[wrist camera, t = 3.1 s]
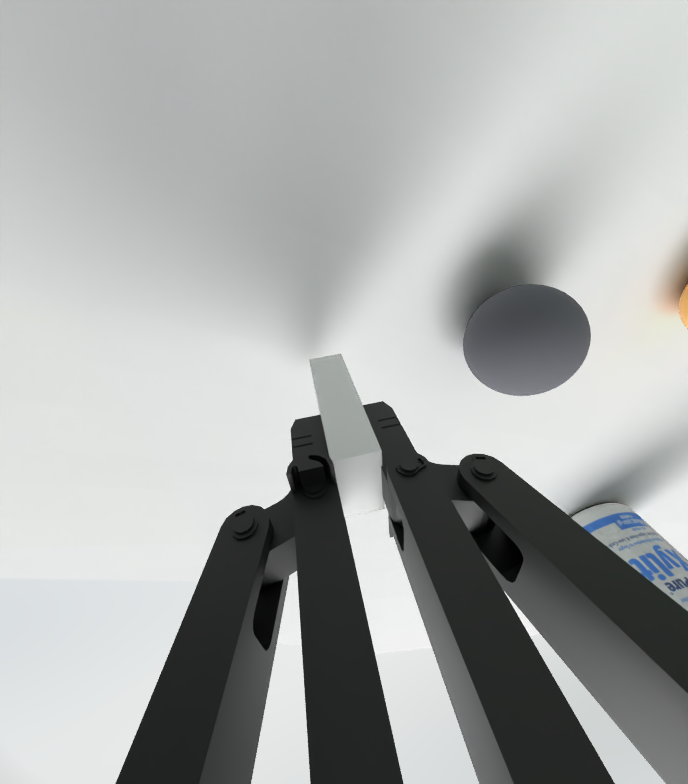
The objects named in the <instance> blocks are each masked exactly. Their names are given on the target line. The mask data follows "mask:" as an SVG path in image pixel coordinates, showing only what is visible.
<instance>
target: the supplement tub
mask: <svg viewBox="0 0 688 784" xmlns="http://www.w3.org/2000/svg"><path fill="white" fill-rule="evenodd" d="M571 518H572V519H573V520H574V521H576V522H577V523H578V524H579V525H581V526H582V527H583V528H584V529H586V530H587V531H588V532H589V533H591V534H592V535H593V536H594V537H596V538H597V539H598V540H599V541H601V542H602V543H603V544H604V545H606V546H607V547H608V548H609V549H611V550H612V551H613V552H614V553H616V554H617V555H618V556H619V557H621V558H622V559H623V560H624V561H626V562H627V563H628V564H629V565H631V566H632V567H633V568H634V569H636V570H637V571H638V572H639V573H641V574H642V575H643V576H644V577H646V578H647V579H648V580H649V581H651V582H652V583H653V584H654V585H656V586H657V587H658V588H659V589H661V590H662V591H663V592H664V593H666V594H667V595H668V596H669V597H671V598H672V599H673V600H674V601H676V602H677V603H678V604H679V605H681V606H682V607H683V608H684V609H686V610H687V611H688V560H687V559H686V558H685V557H684V556H683V555H681V554H680V553H679V552H678V551H677V550H676V549H675V548H674V547H673V546H672V545H670V544H669V543H668V542H667V541H666V540H665V539H664V538H663V537H662V536H661V535H659V534H658V533H657V532H656V531H655V530H654V529H653V528H652V527H651V526H650V525H649V524H647V523H646V522H645V521H644V520H643V519H642V518H641V517H640V516H639V515H637V514H636V513H635V512H634V511H633V510H632V509H631V508H629V507H627V506H625V505H623V504H619V503H605V504H600V505H596V506H593V507H590V508H587V509H585V510H583V511H581V512H579V513H577V514H575V515H574V516H572V517H571Z"/></svg>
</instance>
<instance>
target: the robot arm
mask: <svg viewBox="0 0 688 784" xmlns="http://www.w3.org/2000/svg"><path fill="white" fill-rule="evenodd" d="M309 361H310V366H311V371H312V377H313V382H314V387H315V393H316V398H317V403H318V408H319V413H320V415H317V416H312V417H307V418H302V419H297V420H295V422H294V424H293V426H292V428H291V439H292V455H293V461H292V462H291V463H290V465H289V466H288V469H287V474H286V475H287V478H288V481H289V484H290V488H291V490H290V492H289V493H288V495H287V496H286V497H285V498H283V499H282V500H281V501H279V502H278V503H276V504H274V505H272V506H270V507H268V508H266V509H263V508H262V507H260V506H255V505H250V506H245V507H242V508H240V509H238V510H236V511H234V512H233V513H232V514H231V515H230V516H228V517H227V518H226V520H225V521H224V523H223V525H222V526H221V528H220V531H219V533H218V536H217V538H216V540H215V543H214V545H213V548H212V550H211V553H210V555H209V558H208V560H207V562H206V565H205V567H204V570H203V572H202V575H201V577H200V579H199V582H198V584H197V587H196V589H195V592H194V594H193V597H192V599H191V602H190V604H189V606H188V609H187V611H186V614H185V616H184V619H183V621H182V624H181V626H180V628H179V631H178V633H177V636H176V638H175V641H174V643H173V645H172V648H171V650H170V653H169V655H168V657H167V660H166V662H165V665H164V667H163V670H162V672H161V674H160V677H159V679H158V682H157V685H156V687H155V689H154V692H153V694H152V696H151V699H150V701H149V704H148V707H147V709H146V711H145V713H144V716H143V719H142V721H141V723H140V726H139V729H138V731H137V733H136V736H135V738H134V740H133V743H132V745H131V748H130V750H129V752H128V755H127V757H126V760H125V762H124V765H123V767H122V770H121V772H120V774H119V777H118V779H117V782H116V784H251V780H252V774H253V769H254V763H255V758H256V753H257V747H258V741H259V736H260V731H261V726H262V720H263V715H264V709H265V704H266V698H267V692H268V688H269V682H270V677H271V671H272V666H273V660H274V654H275V650H276V644H277V639H278V634H279V628H280V623H281V617H282V612H283V607H284V601H285V596H286V590H287V585H288V580H289V575H291V574H292V573H294V572H295V571H297V575H298V591H299V607H300V623H301V639H302V655H303V669H304V686H305V702H306V718H307V733H308V748H309V764H310V781H311V784H403V780H402V775H401V771H400V766H399V762H398V757H397V753H396V748H395V743H394V739H393V735H392V730H391V725H390V721H389V716H388V712H387V707H386V703H385V698H384V694H383V689H382V685H381V680H380V676H379V671H378V666H377V662H376V658H375V653H374V648H373V644H372V639H371V635H370V630H369V626H368V621H367V617H366V612H365V608H364V603H363V599H362V594H361V590H360V585H359V580H358V576H357V571H356V567H355V562H354V558H353V553H352V549H351V544H350V540H349V535H348V531H347V526H346V522H345V518H347V517H351V516H356V515H360V514H364V513H368V512H373V511H377V510H381V509H385V507H384V501H385V504H386V507H387V510H388V514H389V534H390V537H393V536H394V539H395V541H396V544H397V547H398V550H399V553H400V556H401V559H402V562H403V565H404V567H405V570H406V573H407V576H408V579H409V582H410V585H411V588H412V591H413V593H414V596H415V599H416V602H417V605H418V608H419V611H420V614H421V617H422V619H423V622H424V625H425V628H426V631H427V634H428V637H429V640H430V642H431V645H432V648H433V651H434V654H435V657H436V660H437V663H438V665H439V668H440V671H441V674H442V677H443V680H444V683H445V686H446V689H447V692H448V694H449V697H450V700H451V703H452V706H453V709H454V712H455V714H456V717H457V720H458V723H459V726H460V729H461V732H462V735H463V738H464V741H465V743H466V746H467V749H468V752H469V755H470V758H471V761H472V764H473V767H474V769H475V772H476V775H477V778H478V781H479V784H615V783H614V782H613V780H612V778H611V776H610V775H609V773H608V771H607V769H606V768H605V766H604V764H603V762H602V761H601V759H600V757H599V756H598V754H597V752H596V750H595V749H594V747H593V745H592V743H591V742H590V740H589V738H588V737H587V735H586V733H585V731H584V729H583V728H582V726H581V725H580V723H579V721H578V719H577V717H576V716H575V714H574V712H573V710H572V709H571V707H570V705H569V704H568V702H567V700H566V698H565V697H564V695H563V693H562V691H561V690H560V688H559V686H558V685H557V683H556V681H555V679H554V678H553V676H552V674H551V672H550V671H549V669H548V667H547V665H546V664H545V662H544V660H543V658H542V657H541V655H540V653H539V651H538V650H537V648H536V646H535V645H534V643H533V641H532V639H531V638H530V636H529V634H528V632H527V631H526V629H525V627H524V625H523V624H522V622H521V620H520V618H519V617H518V615H517V613H516V612H515V610H514V608H513V606H512V605H511V603H510V601H509V599H508V598H507V596H506V594H505V592H506V593H507V595H508V596H509V597H510V598H511V599H512V601H513V602H514V603H515V604H516V605H517V607H518V608H519V609H520V610H521V611H522V612H523V614H524V615H525V616H526V617H527V618H528V620H529V621H530V622H531V623H532V624H533V626H534V627H535V628H536V629H537V630H538V632H539V633H540V634H541V635H542V636H543V638H544V639H545V640H546V641H547V642H548V643H549V644H550V646H551V647H552V648H553V649H554V651H555V652H556V653H557V654H558V655H559V657H560V658H561V659H562V660H563V661H564V663H565V664H566V665H567V666H568V667H569V668H570V669H571V671H572V672H573V673H574V674H575V676H576V677H577V678H578V679H579V680H580V682H581V683H582V684H583V685H584V686H585V687H586V689H587V690H588V691H589V692H590V693H591V695H592V696H593V697H594V698H595V699H596V701H597V702H598V703H599V704H600V705H601V707H602V708H603V709H604V710H605V711H606V712H607V714H608V715H609V716H610V717H611V719H612V720H613V721H614V722H615V723H616V724H617V726H618V727H619V728H620V729H621V730H622V732H623V733H624V734H625V735H626V736H627V738H628V739H629V740H630V741H631V742H632V743H633V745H634V746H635V747H636V748H637V750H638V751H639V752H640V753H641V754H642V755H643V757H644V758H645V759H646V760H647V761H648V763H649V764H650V765H651V766H652V767H653V768H654V770H655V771H656V772H657V773H658V775H659V776H660V777H661V778H662V779H663V780H664V782H665V783H666V784H688V611H687V610H686V609H684V608H683V607H682V606H681V605H679V604H678V603H677V602H676V601H674V600H673V599H672V598H671V597H669V596H668V595H667V594H666V593H664V592H663V591H662V590H661V589H659V588H658V587H657V586H656V585H654V584H653V583H652V582H651V581H649V580H648V579H647V578H646V577H644V576H643V575H642V574H641V573H639V572H638V571H637V570H636V569H634V568H633V567H632V566H631V565H629V564H628V563H627V562H626V561H624V560H623V559H622V558H621V557H619V556H618V555H617V554H616V553H614V552H613V551H612V550H611V549H609V548H608V547H607V546H606V545H604V544H603V543H602V542H601V541H599V540H598V539H597V538H596V537H594V536H593V535H592V534H591V533H589V532H588V531H587V530H586V529H584V528H583V527H582V526H581V525H579V524H578V523H577V522H576V521H574V520H573V519H572V518H571V517H569V516H568V515H567V514H566V513H564V512H563V511H562V510H561V509H559V508H558V507H557V506H556V505H554V504H553V503H552V502H550V501H549V500H548V499H547V498H545V497H544V496H543V495H542V494H540V493H539V492H538V491H537V490H535V489H534V488H533V487H532V486H530V485H529V484H528V483H527V482H525V481H524V480H523V479H522V478H520V477H519V476H518V475H517V474H515V473H514V472H513V471H512V470H510V469H509V468H508V467H507V466H505V465H504V464H503V463H502V462H500V461H499V460H497V459H495V458H494V457H491V456H488V455H485V454H472V455H468V456H466V457H464V458H463V459H462V460H461V462H460V464H459V465H441V464H435V463H432V462H429V461H428V460H427V459H426V458H425V457H424V456H422V455H420V454H418V453H417V452H416V451H415V449H414V447H413V445H412V443H411V442H410V440H409V438H408V436H407V434H406V432H405V431H404V429H403V427H402V425H401V424H400V422H399V420H398V418H397V416H396V414H395V413H394V411H393V409H392V408H391V407H390V406H389V405H387V404H386V403H384V402H383V401H382V402H377V403H372V404H367V405H362V403H361V400H360V398H359V395H358V393H357V391H356V388H355V386H354V384H353V381H352V379H351V376H350V374H349V372H348V369H347V367H346V365H345V362H344V360H343V357H342V355H341V354H337V355H331V356H326V357H320V358H315V359H309ZM503 590H504V591H505V592H504V591H503Z"/></svg>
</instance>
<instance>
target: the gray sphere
mask: <svg viewBox="0 0 688 784" xmlns="http://www.w3.org/2000/svg"><path fill="white" fill-rule="evenodd" d="M590 338H591V333H590V326H589V322H588V319H587V316H586V314H585V313H584V311H583V309H582V307H581V306H580V305H579V304H578V303H577V302H576V301H575V300H574V299H573V298H572V297H570V296H569V295H567V294H566V293H564V292H562V291H560V290H558V289H556V288H553V287H549V286H544V285H533V284H529V285H519V286H515V287H511V288H508V289H505V290H503V291H500V292H498V293H496V294H495V295H493V296H492V297H490V298H489V299H487V300H486V301H485V302H484V303H482V304H481V305H480V306H479V307H478V309H477V310H476V311H475V312H474V314H473V315H472V317H471V318H470V320H469V322H468V324H467V327H466V330H465V334H464V339H463V349H464V356H465V359H466V362H467V364H468V367H469V368H470V370H471V371H472V373H473V374H474V375H475V377H476V378H477V379H478V380H479V381H480V382H482V383H483V384H484V385H486V386H487V387H489V388H491V389H493V390H495V391H497V392H501V393H504V394H508V395H515V396H529V395H535V394H540V393H544V392H546V391H549V390H551V389H554V388H556V387H558V386H559V385H561V384H563V383H564V382H565V381H567V380H568V379H569V378H570V377H571V376H573V375H574V373H575V372H576V371H577V370H578V369H579V368H580V366H581V365H582V363H583V362H584V360H585V358H586V355H587V353H588V349H589V346H590Z"/></svg>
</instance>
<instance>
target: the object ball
mask: <svg viewBox="0 0 688 784" xmlns="http://www.w3.org/2000/svg"><path fill="white" fill-rule="evenodd" d="M679 314H680V318H681V320H682V322H683V324H684V325H685V327H686V328H687V329H688V284H687V285H686V287H685V289H684V290H683V293H682V295H681V298H680V301H679Z"/></svg>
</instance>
